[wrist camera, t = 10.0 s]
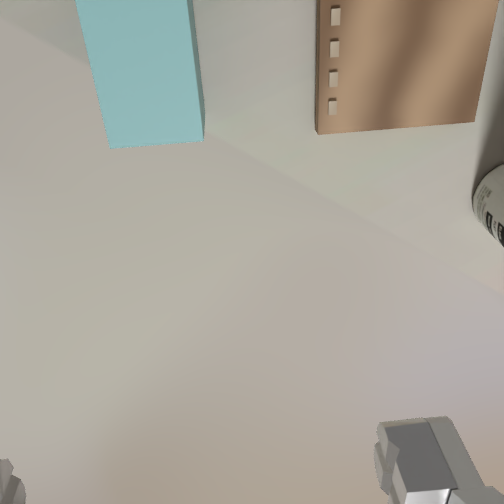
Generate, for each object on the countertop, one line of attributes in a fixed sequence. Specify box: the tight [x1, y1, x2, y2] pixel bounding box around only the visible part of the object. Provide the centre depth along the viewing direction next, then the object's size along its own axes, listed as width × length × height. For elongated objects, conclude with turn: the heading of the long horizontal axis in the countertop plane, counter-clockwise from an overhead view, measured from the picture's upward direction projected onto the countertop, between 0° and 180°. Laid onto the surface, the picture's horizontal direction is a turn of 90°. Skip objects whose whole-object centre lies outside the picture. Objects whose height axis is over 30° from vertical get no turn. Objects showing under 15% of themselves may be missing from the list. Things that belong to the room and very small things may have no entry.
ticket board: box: [315, 0, 499, 135], centre depth 32 cm, size 12×16×1 cm
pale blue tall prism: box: [75, 0, 205, 149], centre depth 29 cm, size 6×12×6 cm, turn 3°
